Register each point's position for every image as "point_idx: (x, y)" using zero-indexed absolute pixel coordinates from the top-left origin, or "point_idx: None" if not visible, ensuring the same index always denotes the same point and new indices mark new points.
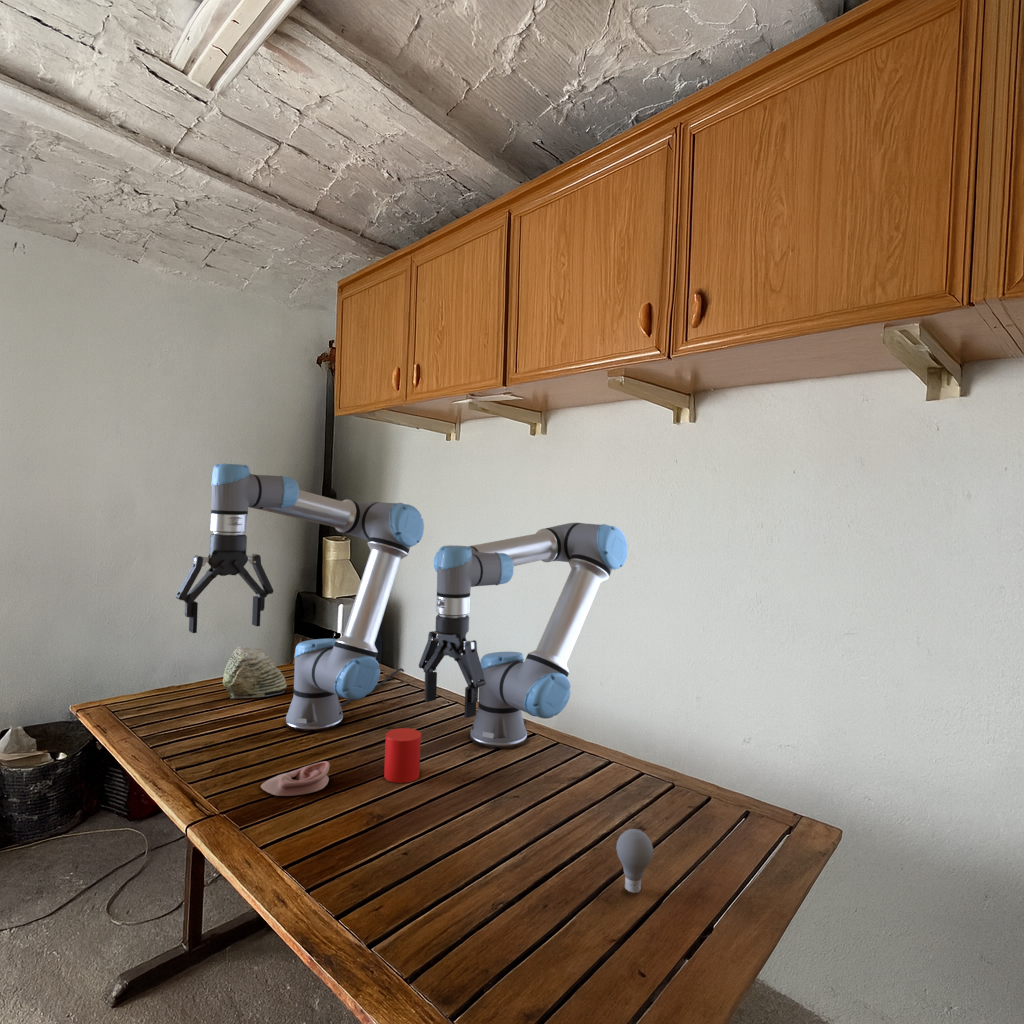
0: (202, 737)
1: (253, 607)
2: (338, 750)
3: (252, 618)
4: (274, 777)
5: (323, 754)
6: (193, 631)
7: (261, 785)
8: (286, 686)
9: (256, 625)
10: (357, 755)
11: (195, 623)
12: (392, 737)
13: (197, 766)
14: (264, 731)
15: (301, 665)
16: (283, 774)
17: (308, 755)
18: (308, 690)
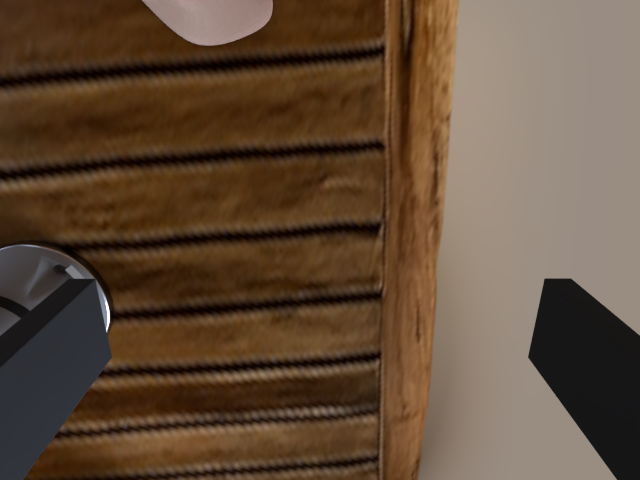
0: (284, 352)
1: (25, 450)
2: (41, 111)
3: (88, 383)
4: (235, 16)
5: (82, 111)
6: (575, 283)
7: (269, 14)
8: None
9: (92, 285)
10: (4, 49)
11: (600, 315)
12: None
13: (341, 218)
14: (164, 315)
15: None
16: (215, 2)
17: (117, 128)
18: (13, 321)
